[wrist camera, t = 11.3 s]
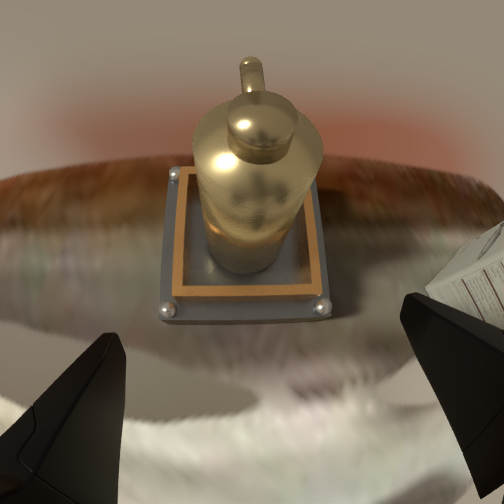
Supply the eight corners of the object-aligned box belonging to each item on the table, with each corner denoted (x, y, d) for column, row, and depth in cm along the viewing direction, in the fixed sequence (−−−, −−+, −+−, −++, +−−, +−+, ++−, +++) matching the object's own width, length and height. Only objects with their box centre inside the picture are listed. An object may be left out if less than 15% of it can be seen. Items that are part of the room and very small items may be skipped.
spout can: (287, 268, 20) (358, 158, 9) (211, 278, 19) (190, 169, 8) (272, 193, 22) (309, 54, 10) (202, 200, 21) (186, 56, 10)
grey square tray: (305, 190, 25) (320, 156, 21) (318, 321, 22) (342, 311, 17) (175, 189, 24) (165, 154, 20) (168, 324, 21) (151, 315, 16)
